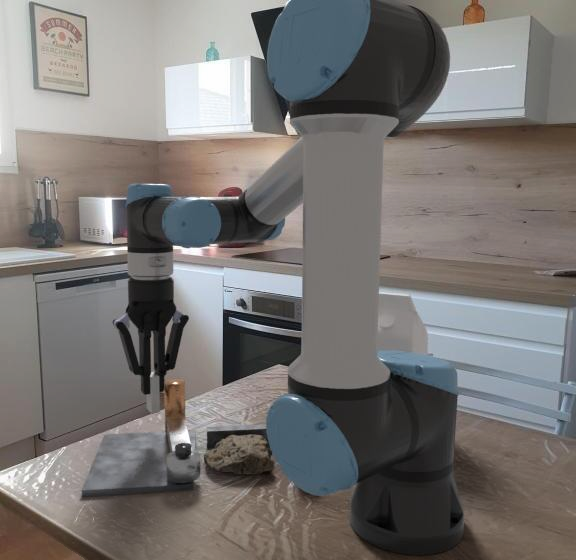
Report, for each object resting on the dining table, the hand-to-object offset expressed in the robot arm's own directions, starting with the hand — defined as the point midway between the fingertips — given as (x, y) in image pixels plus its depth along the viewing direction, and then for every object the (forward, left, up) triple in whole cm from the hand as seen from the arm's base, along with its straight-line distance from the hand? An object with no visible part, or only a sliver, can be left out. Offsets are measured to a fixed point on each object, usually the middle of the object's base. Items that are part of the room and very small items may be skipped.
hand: (153, 410), depth 103 cm
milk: (+1, -43, -6) cm, 43 cm away
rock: (-9, -14, -7) cm, 18 cm away
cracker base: (-7, -8, -6) cm, 13 cm away
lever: (-7, -5, -5) cm, 10 cm away
